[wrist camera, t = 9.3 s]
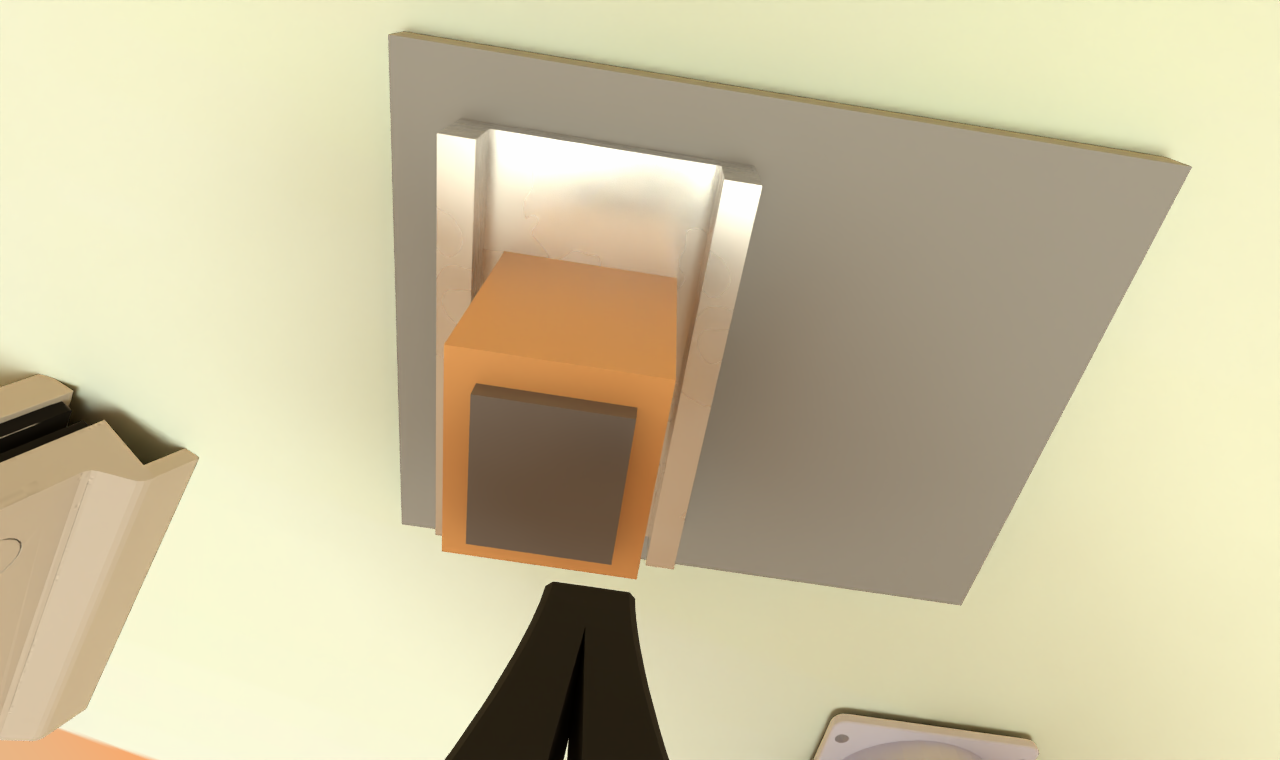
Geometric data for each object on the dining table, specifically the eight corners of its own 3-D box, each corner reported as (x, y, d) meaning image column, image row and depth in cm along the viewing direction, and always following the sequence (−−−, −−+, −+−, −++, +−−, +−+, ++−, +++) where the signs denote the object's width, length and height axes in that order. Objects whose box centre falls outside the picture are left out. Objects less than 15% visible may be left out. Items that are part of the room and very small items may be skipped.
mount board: (950, 582, 24) (961, 605, 23) (412, 503, 23) (402, 524, 22) (1165, 157, 17) (1191, 167, 16) (403, 31, 16) (388, 33, 15)
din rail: (674, 526, 22) (673, 569, 20) (453, 494, 22) (435, 534, 20) (754, 165, 16) (762, 185, 15) (460, 118, 16) (436, 133, 15)
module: (646, 446, 20) (635, 593, 15) (495, 423, 19) (436, 564, 15) (677, 278, 17) (675, 391, 12) (504, 251, 17) (437, 354, 12)
